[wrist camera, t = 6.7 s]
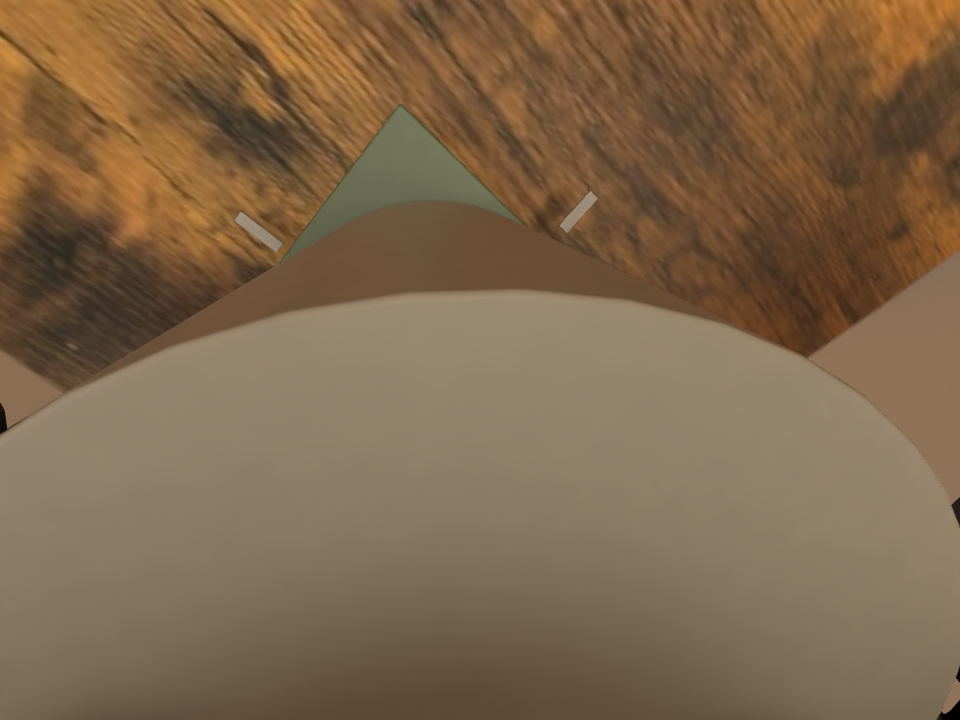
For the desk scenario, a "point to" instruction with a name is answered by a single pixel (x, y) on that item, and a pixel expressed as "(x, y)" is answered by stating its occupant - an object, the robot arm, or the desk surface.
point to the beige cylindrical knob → (469, 507)
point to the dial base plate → (399, 183)
